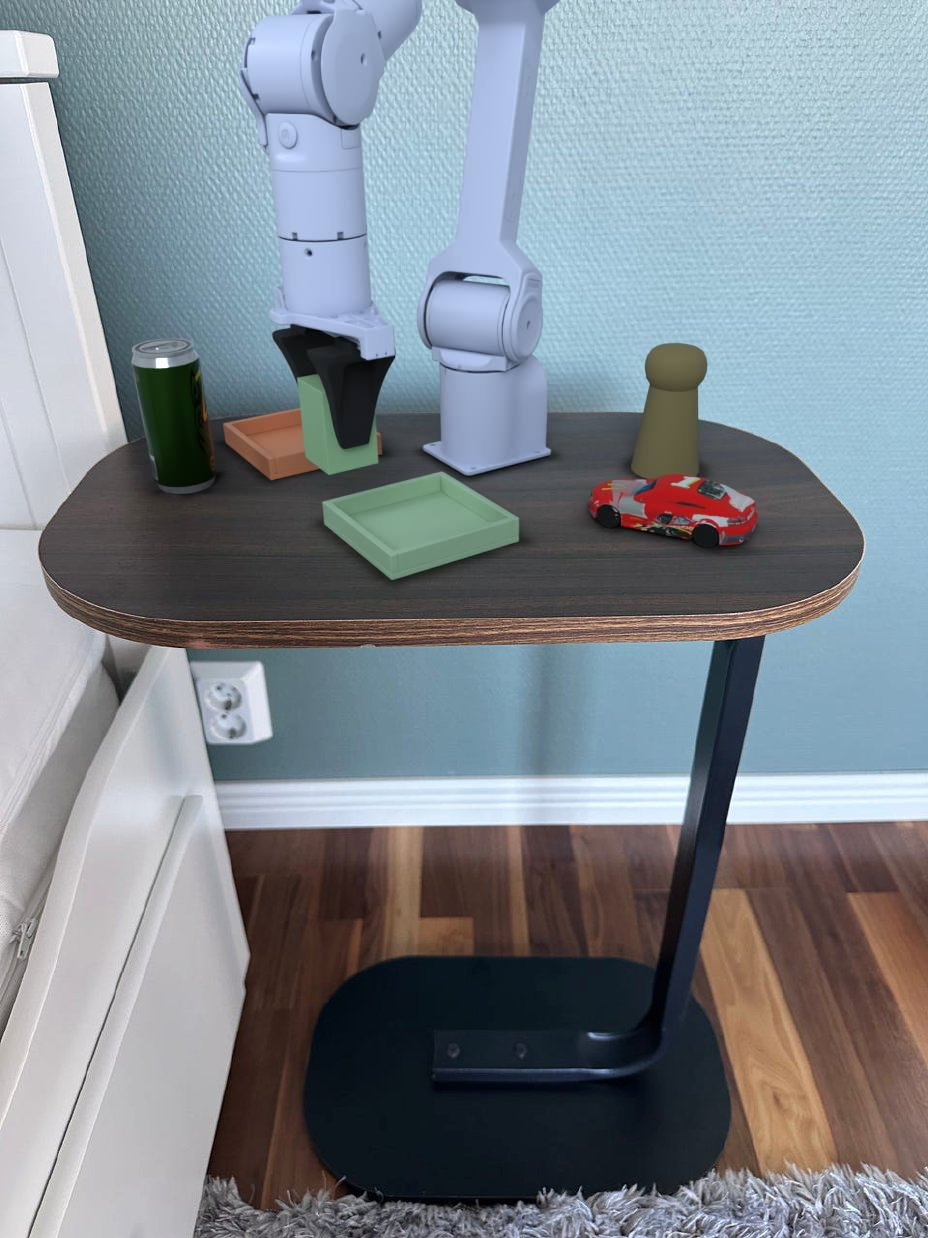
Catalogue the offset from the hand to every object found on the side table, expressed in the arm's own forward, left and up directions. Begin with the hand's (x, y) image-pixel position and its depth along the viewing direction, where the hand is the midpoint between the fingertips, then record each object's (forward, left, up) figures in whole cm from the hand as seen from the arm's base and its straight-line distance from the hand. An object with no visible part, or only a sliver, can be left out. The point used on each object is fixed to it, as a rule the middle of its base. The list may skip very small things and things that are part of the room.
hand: (339, 435), depth 68 cm
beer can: (+6, -19, -9) cm, 22 cm away
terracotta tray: (-6, -21, -9) cm, 23 cm away
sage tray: (-6, +1, -9) cm, 10 cm away
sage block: (0, 0, -2) cm, 2 cm away
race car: (-23, +11, -9) cm, 27 cm away
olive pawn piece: (-31, +2, -9) cm, 32 cm away
